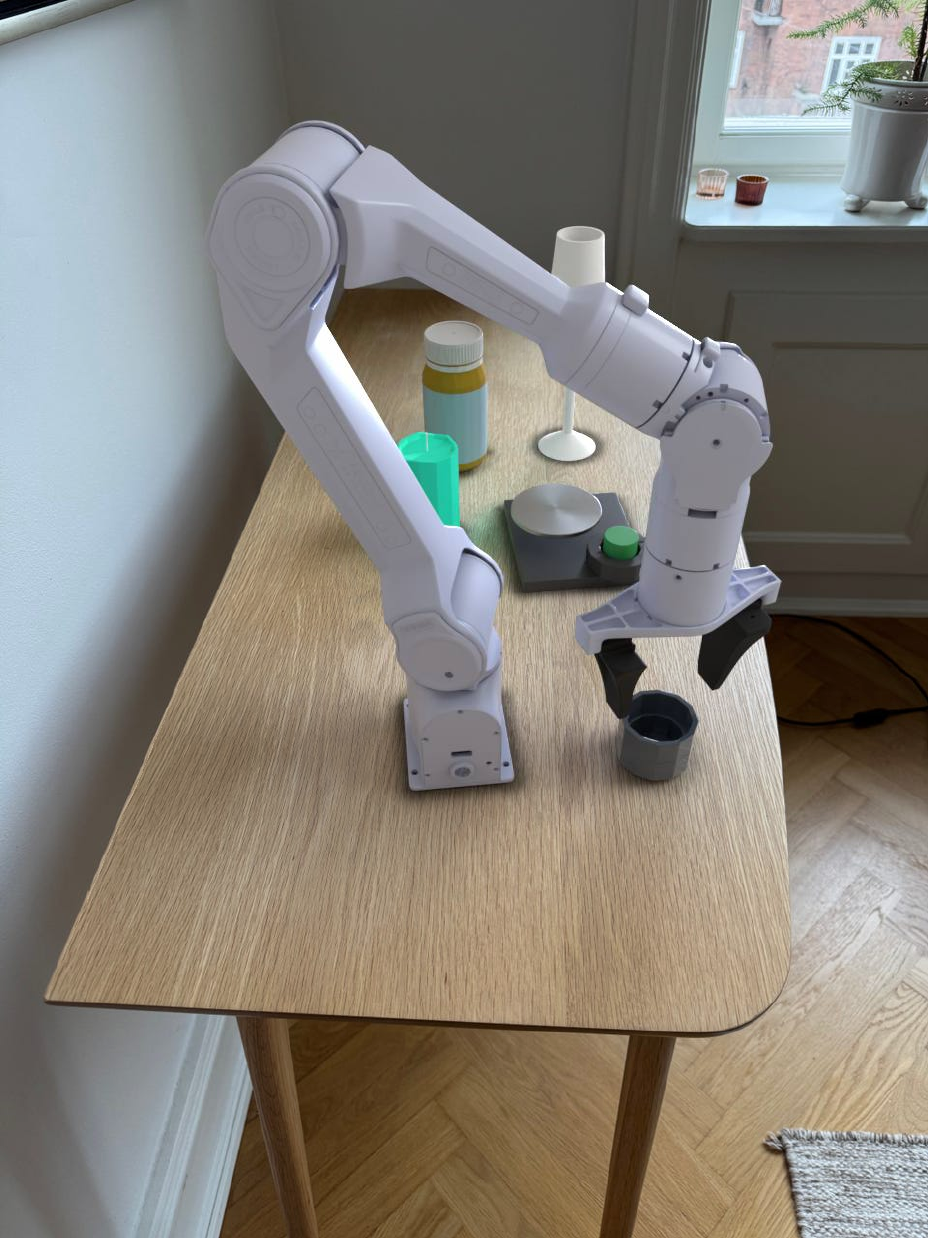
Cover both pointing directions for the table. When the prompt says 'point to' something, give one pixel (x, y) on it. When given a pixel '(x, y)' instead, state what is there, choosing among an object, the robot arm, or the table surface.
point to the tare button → (620, 542)
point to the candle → (435, 471)
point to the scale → (574, 554)
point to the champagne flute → (574, 266)
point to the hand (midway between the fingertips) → (663, 694)
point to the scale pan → (556, 511)
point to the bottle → (456, 388)
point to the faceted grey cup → (657, 735)
